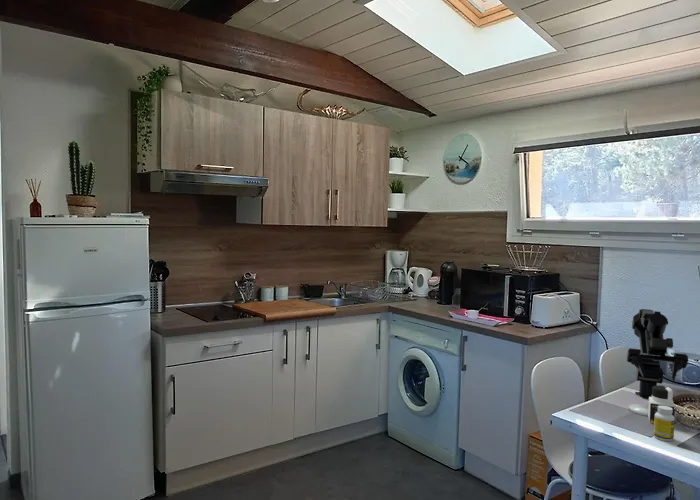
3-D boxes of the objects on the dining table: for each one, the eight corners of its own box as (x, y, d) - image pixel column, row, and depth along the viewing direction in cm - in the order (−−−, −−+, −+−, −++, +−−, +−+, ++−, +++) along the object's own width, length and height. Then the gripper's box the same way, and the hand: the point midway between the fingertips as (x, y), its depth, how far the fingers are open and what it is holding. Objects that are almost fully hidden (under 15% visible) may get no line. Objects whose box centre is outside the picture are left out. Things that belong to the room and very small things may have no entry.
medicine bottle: (649, 422, 172) (651, 388, 171) (647, 416, 178) (649, 382, 178) (674, 427, 169) (676, 391, 168) (671, 420, 175) (673, 385, 174)
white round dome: (623, 406, 187) (623, 403, 187) (648, 407, 187) (648, 404, 187) (636, 415, 178) (636, 412, 178) (662, 416, 178) (662, 413, 178)
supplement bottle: (673, 443, 155) (675, 411, 155) (653, 439, 158) (654, 408, 158) (673, 437, 160) (675, 406, 159) (653, 433, 163) (655, 403, 162)
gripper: (629, 326, 187) (631, 363, 178) (688, 331, 180) (694, 370, 170) (625, 343, 195) (627, 379, 185) (682, 349, 188) (687, 386, 178)
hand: (658, 378), depth 180 cm, fingers open, 9 cm apart
